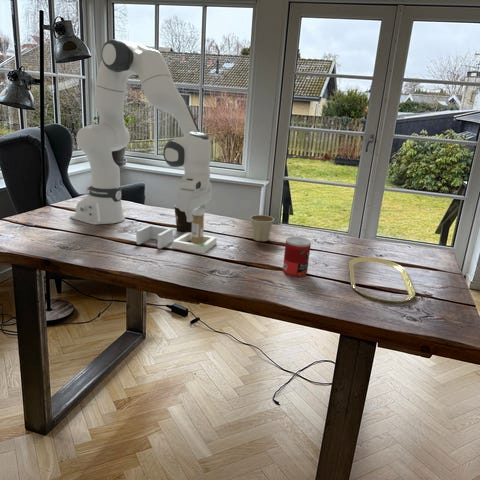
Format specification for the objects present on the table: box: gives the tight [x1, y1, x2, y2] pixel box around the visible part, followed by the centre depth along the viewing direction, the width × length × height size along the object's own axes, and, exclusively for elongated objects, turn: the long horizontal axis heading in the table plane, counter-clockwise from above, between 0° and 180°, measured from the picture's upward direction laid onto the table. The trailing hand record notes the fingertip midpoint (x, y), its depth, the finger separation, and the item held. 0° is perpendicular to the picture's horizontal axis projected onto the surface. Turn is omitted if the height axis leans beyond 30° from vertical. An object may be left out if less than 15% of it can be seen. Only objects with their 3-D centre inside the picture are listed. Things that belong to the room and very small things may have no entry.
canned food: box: [282, 236, 312, 278], centre depth 135 cm, size 8×8×11 cm
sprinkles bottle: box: [190, 207, 205, 245], centre depth 155 cm, size 5×5×13 cm
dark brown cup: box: [173, 203, 192, 234], centre depth 171 cm, size 12×9×10 cm
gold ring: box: [348, 256, 416, 304], centre depth 136 cm, size 19×35×2 cm, turn 168°
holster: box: [135, 224, 174, 249], centre depth 154 cm, size 10×9×5 cm
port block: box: [171, 232, 218, 254], centre depth 154 cm, size 12×12×3 cm
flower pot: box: [249, 214, 275, 242], centre depth 166 cm, size 9×9×9 cm
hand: (195, 218), depth 152 cm, fingers open, 8 cm apart
